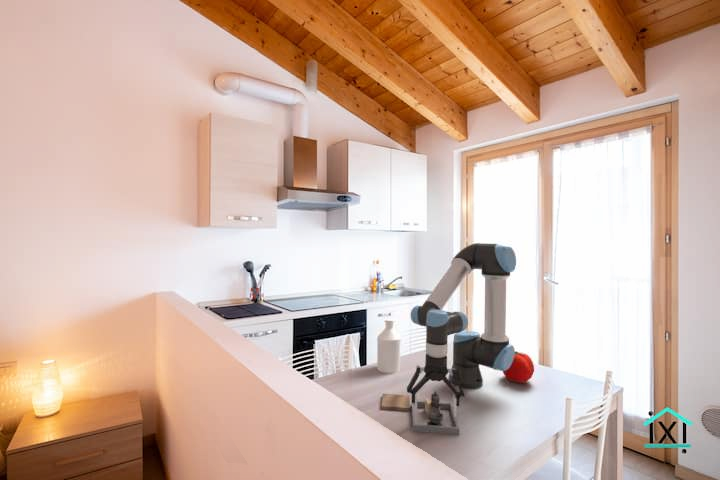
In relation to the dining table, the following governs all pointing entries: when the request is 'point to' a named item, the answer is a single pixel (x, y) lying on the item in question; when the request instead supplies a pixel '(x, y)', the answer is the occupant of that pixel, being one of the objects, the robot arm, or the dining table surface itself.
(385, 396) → the light brown wooden board
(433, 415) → the dark grey chess piece
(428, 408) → the beech block
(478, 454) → the dining table surface
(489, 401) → the dining table surface
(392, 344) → the bottle
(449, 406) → the tray
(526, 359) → the tomato
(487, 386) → the dining table surface
